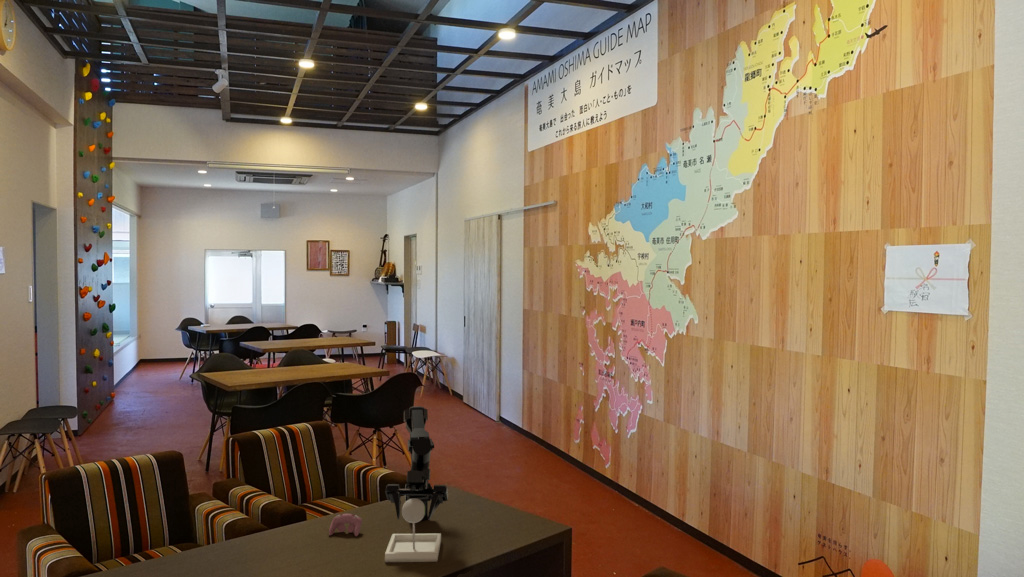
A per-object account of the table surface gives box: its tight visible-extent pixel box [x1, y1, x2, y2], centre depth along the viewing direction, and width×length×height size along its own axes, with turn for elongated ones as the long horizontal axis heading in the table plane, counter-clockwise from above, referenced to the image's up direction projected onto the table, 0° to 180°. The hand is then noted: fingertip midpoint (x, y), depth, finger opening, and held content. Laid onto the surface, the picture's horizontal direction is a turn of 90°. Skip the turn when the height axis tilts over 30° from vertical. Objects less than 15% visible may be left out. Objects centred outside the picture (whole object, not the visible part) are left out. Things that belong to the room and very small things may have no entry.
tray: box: [384, 532, 442, 563], centre depth 200 cm, size 15×15×2 cm
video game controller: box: [328, 513, 363, 537], centre depth 215 cm, size 10×5×7 cm, turn 85°
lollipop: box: [401, 498, 426, 549], centre depth 200 cm, size 7×7×15 cm
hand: (413, 519), depth 199 cm, fingers open, 9 cm apart
